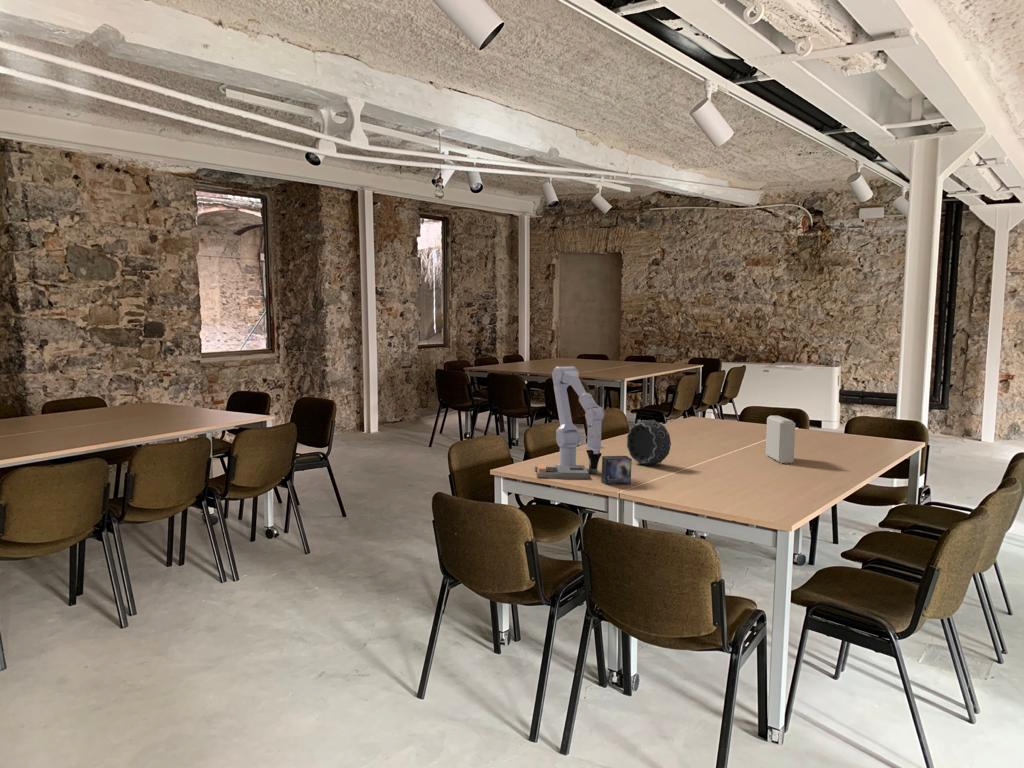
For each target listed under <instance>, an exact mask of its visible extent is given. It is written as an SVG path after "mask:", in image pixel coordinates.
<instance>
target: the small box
mask: <svg viewBox="0 0 1024 768" xmlns="http://www.w3.org/2000/svg"><path fill="white" fill-rule="evenodd" d="M601 458H602V459H601V478H600V482H601V481H602V482H601V483H603V484H604V483H605V484H604V485H606V484H618V485H631V484H632V481H631V480H632V461H633V458H632V457H630V456H628V455H601Z"/></svg>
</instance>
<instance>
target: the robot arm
mask: <svg viewBox="0 0 1024 768" xmlns="http://www.w3.org/2000/svg"><path fill="white" fill-rule="evenodd" d="M579 373H580V372H579V371H578V369H577V368H576V367H575V366H574V365H572V366H556V367H554V369H553V371H552V372H551V377H552V383H553V390H554V395H555V396H554V397H555V403H556V408H557V409H556V410H557V413H558V419H559V425H560V426H558V428H557V429H556V430H555V432H556V435H555V441H556V444H557V446H558V447H559V462H558V463H557V465H577V447H578V445H579V444H580V443H581V440H582V439H581V434H580V432H579V430H578V427H577V426H576V425H575V424H573V419H572V412H571V406H570V401H569V395H568V391H567V390H568V388H569V386H571V387H572V389H573V390H574V392H575V393H576V394H577V396H578V402H579V404H580V405H581V407H582V408H583V411H584V412H585V414H584V417H585V420H586V426H587V437H586V438H587V440H586V441H587V443H586V453H587V457H588V458H589V457H590V462H591V469H597V466H598V467H599V461H600V458H601V457H602V456H603V455H602V453H601V452H600V450H601V449H604V448H605V447H604V446H603V445H602V425H603V424H602V421H604V419H605V415H606V412H605V410H604V408H603V407H601V406H600V405H598V404H597V402H596V400H595V399H594V398H593V396H592V394H591V393H589V392H587V391H586V390H585V387H584V385H583V384H582V382H581V379H580V377H579V376H580V375H579Z"/></svg>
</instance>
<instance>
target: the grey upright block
mask: <svg viewBox="0 0 1024 768" xmlns="http://www.w3.org/2000/svg"><path fill="white" fill-rule="evenodd" d="M795 439H796V422H794V420H792V419H789V418H786V417H783V416H781V415H769V416H768V417H766V435H765V455H766V456H767V455H768V456H769V457H768V456H767V457H768V458H770V457H771V458H770V459H772V458H773V459H772V460H774V459H775V460H776V462H777V461H778V462H777V463H779V462H780V463H779V464H781V463H791V464H793V463H794V462H795V446H796V445H795V443H796V440H795ZM775 460H774V461H775Z"/></svg>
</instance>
